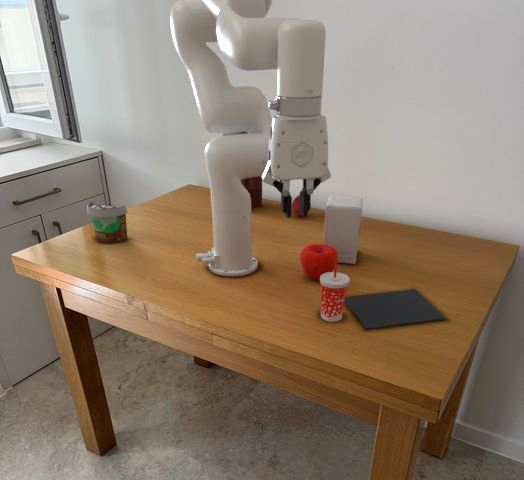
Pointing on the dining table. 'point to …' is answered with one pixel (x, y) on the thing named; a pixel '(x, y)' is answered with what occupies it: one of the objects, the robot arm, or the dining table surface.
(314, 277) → the apple
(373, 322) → the mat
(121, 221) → the food container
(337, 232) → the white product box
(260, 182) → the toy vending machine
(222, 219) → the robot arm
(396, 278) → the dining table surface
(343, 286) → the beverage cup
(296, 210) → the onion
